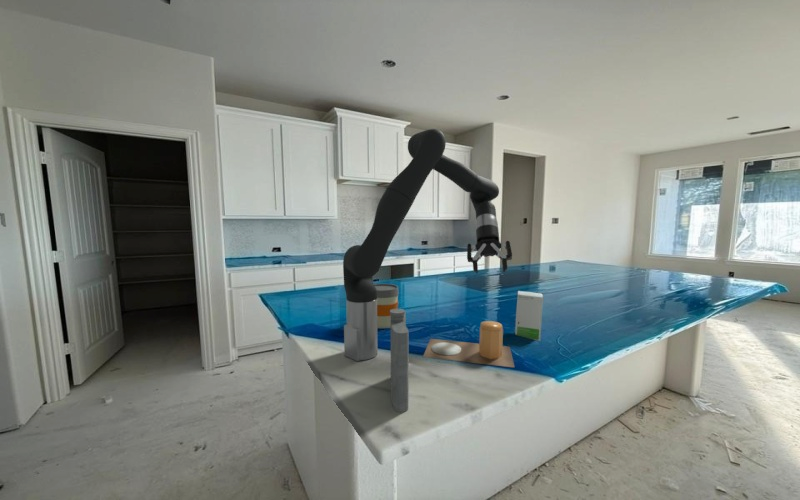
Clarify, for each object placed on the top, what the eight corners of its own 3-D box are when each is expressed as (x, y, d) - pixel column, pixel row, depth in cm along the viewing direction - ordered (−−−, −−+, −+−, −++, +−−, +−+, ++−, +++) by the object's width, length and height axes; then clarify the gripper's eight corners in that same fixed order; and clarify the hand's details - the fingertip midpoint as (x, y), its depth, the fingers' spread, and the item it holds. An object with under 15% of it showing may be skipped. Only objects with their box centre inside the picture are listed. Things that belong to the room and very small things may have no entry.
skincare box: (514, 338, 106) (516, 294, 104) (515, 332, 112) (516, 290, 110) (541, 342, 102) (543, 296, 101) (540, 335, 109) (542, 292, 107)
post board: (509, 351, 95) (510, 331, 94) (514, 372, 82) (515, 349, 81) (430, 343, 101) (430, 324, 101) (422, 361, 88) (422, 340, 87)
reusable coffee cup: (398, 330, 113) (398, 290, 112) (365, 330, 113) (364, 290, 112) (399, 319, 126) (399, 283, 124) (368, 319, 126) (368, 283, 124)
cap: (495, 360, 85) (496, 329, 85) (476, 354, 89) (477, 324, 89) (504, 353, 90) (505, 324, 89) (485, 348, 94) (486, 319, 93)
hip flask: (408, 412, 65) (409, 321, 63) (389, 412, 65) (389, 321, 63) (405, 374, 81) (405, 301, 79) (389, 374, 81) (389, 301, 79)
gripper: (465, 225, 105) (466, 267, 97) (508, 221, 101) (514, 265, 93) (467, 237, 111) (468, 277, 103) (508, 233, 107) (513, 275, 99)
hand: (490, 271), depth 98 cm, fingers open, 8 cm apart
